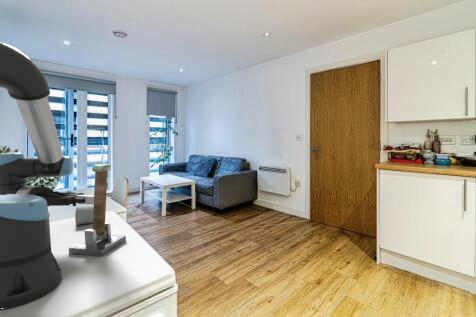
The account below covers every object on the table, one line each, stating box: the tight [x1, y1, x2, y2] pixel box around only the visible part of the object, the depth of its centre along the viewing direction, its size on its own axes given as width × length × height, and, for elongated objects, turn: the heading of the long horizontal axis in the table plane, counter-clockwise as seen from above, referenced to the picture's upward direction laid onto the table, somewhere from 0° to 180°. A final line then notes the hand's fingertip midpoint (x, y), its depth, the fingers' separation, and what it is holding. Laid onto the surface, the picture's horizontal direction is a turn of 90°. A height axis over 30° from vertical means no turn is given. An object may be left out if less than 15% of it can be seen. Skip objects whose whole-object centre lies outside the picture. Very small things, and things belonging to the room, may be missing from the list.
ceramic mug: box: [74, 205, 94, 226], centre depth 110 cm, size 11×8×8 cm
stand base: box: [68, 221, 127, 257], centre depth 84 cm, size 12×12×7 cm
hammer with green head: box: [91, 163, 112, 241], centre depth 83 cm, size 5×4×26 cm
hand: (95, 200), depth 83 cm, fingers closed
